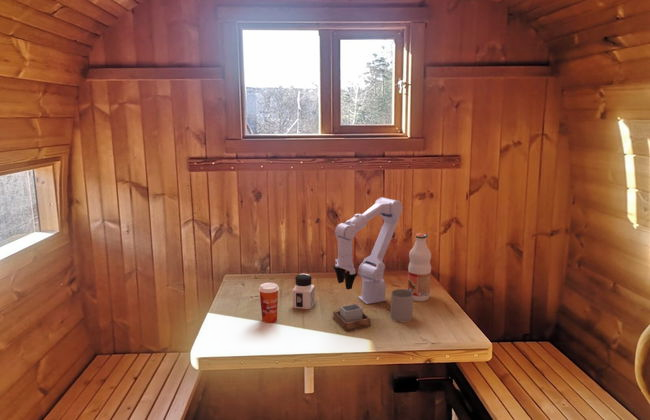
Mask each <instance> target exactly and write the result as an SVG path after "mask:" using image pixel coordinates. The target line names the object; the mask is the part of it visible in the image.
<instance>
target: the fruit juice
mask: <svg viewBox="0 0 650 420" xmlns="http://www.w3.org/2000/svg"><path fill="white" fill-rule="evenodd" d="M414 239H415V242H414V245H413V247H412V248H411V249H410V250H409V253H408V257H409V263H408V270H407V271H408V272H407V290H409V291H411V292H413V302H414V301H415V302H425V301H428V300H429V299H430V294H431V275H432V274H431V273H432V265H431V259H432V252H431V250H430V249H429V248H428V245H427V239H428V235H427V234H426V233H421V232H417V233H415V235H414Z"/></svg>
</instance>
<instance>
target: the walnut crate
mask: <svg viewBox="0 0 650 420" xmlns="http://www.w3.org/2000/svg"><path fill="white" fill-rule="evenodd" d="M332 312H333V313H332V315H333V317H332V318H333V320H334V321H335V322H336V323H337V324H338V325H339V326H340V327H341V328H342V329H343V330H344V331H345V332H347V331H348V332H349V331H352V330H357V329H362V328H367V327H370V326H371V318H370V317H369V316H368V315H367V314H366V313H365V312H363V311H362V320H357V321H352V322H346V321H344V320H343V319H342V318H341V317H340V310H334V311H332Z"/></svg>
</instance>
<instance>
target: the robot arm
mask: <svg viewBox="0 0 650 420" xmlns="http://www.w3.org/2000/svg"><path fill="white" fill-rule="evenodd" d="M403 209H404V208H403V205H402V202H401V201H400V200H398V199H392V198H387V197H384V196H381V197H378V199H376V200H375V201H374V204H373V205H371V207H369V208H368V209H366V210H365V211H364V212H363V213H355V214H354V215H353V217H351V218H349V219H347V220H346V221H345V222H341V223H339V224H337V226H336V228H335V230H334V234H335V237H336V240H337V258H335V264H334V265H333V266H332V268H333V270H334V272H335V275H336V279H337V282H338V284H341V283H345V289H346V290H347V291H348V290H352V288H353V285H354V281H355V279H356V277H357V276H358V275H359V276H360V277H361V280H362V281H361V282H362V284H361V286H362V287H361V295H358V299H359V300H361V301H362V302H363V303H364V304H366V305H369V304H375V303H381V302H386V301H387V298H386V287H387V285H386V281H385V280H384V274H385V268H386V266H385V264H384V262H383V260H384V257H385V254H386V252H387V250H388V248H389V245H390V242H391V240H392V238H393V235H394V233H395V231H396V229H397V226H398V224H399V219H400V217H401V214H402V212H403ZM378 215H379V216H380V217H381V218H382V220H383V224H382V226H381V228H380V231H379V233H378V236H377V239H376V241H375V243H374V245H373V247H372V250H371V253H370V255H368V256H366V257H364V259H363V260H362V262H361V264H360V265H359V266H358V271H356V268H355V266H354V264H353V239H354V238H355V237H356V234H357V233H358V232H359V231H360V230H362V229H363V228H364V227H366V226H367V224H368V221H370V220H371V219H373V218H375V217H377V216H378Z"/></svg>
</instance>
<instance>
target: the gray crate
mask: <svg viewBox="0 0 650 420" xmlns="http://www.w3.org/2000/svg"><path fill="white" fill-rule="evenodd" d="M339 311H340V317H341V318H342V319H343V320H344V321H346V322H352V321H357V320H362V312H363V311H364V310H363V308H362V307H361V306H360V305H359V304H358V303H354V304H347V305H342V306H340V307H339Z"/></svg>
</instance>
